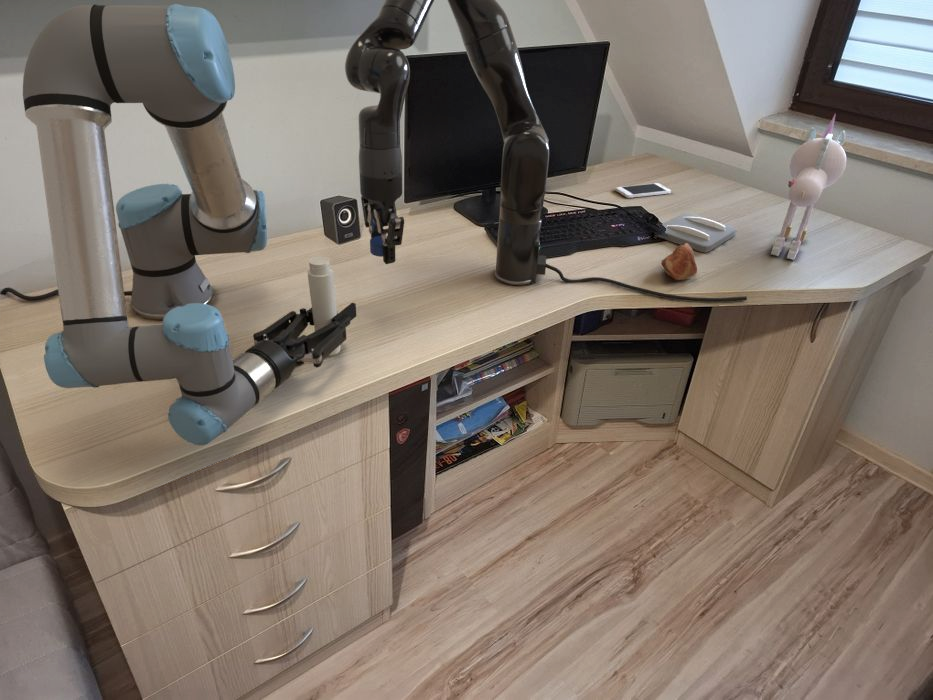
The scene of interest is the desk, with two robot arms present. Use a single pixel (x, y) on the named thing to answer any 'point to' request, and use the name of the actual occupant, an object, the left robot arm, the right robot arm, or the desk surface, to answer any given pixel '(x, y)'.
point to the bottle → (322, 293)
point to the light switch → (697, 232)
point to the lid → (376, 246)
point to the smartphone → (642, 190)
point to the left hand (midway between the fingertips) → (342, 306)
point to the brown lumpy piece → (680, 263)
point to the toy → (811, 180)
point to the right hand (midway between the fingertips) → (383, 256)
